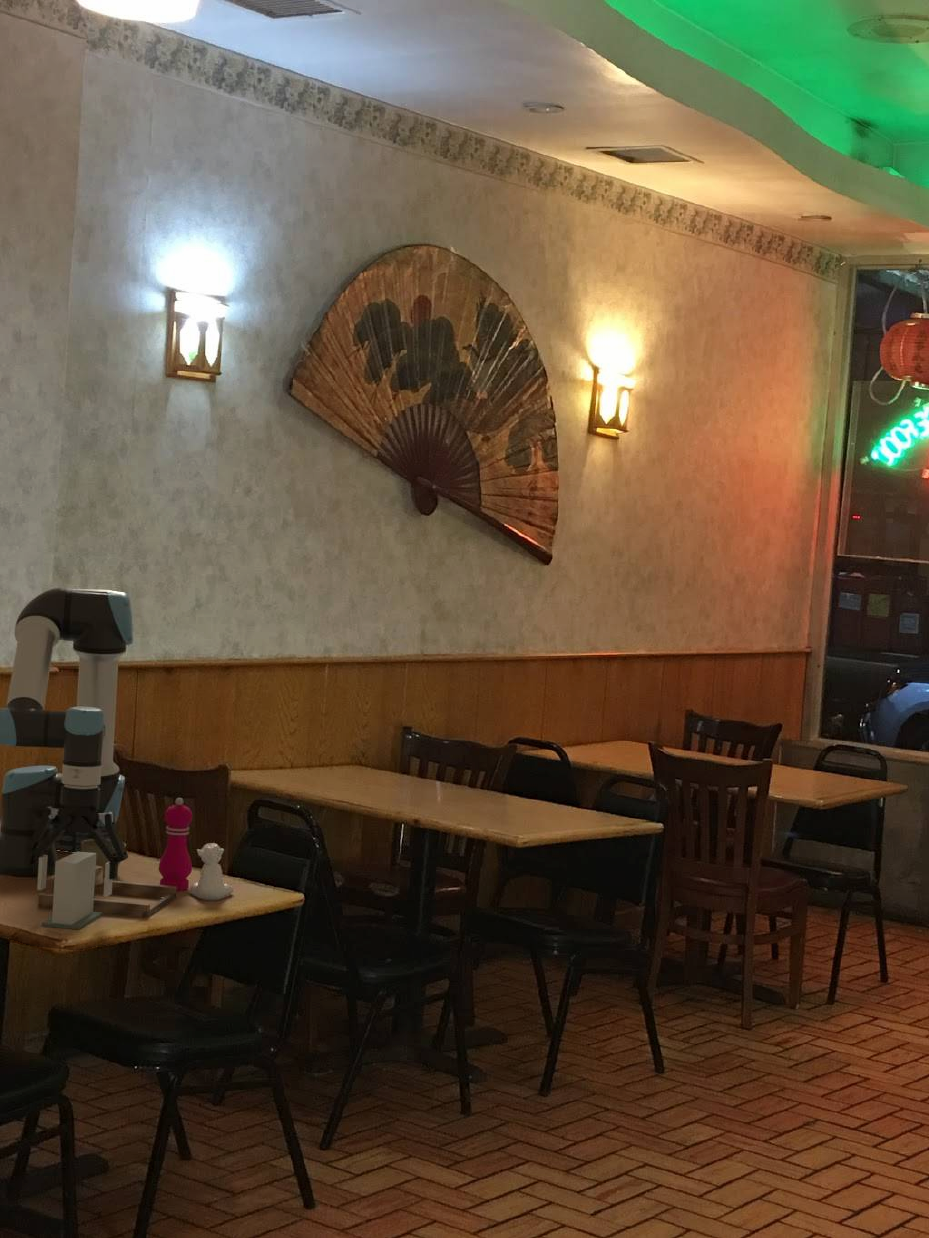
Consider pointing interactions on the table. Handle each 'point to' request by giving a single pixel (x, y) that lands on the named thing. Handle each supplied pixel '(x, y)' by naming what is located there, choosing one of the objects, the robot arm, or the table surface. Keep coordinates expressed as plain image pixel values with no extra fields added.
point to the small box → (75, 839)
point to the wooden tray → (124, 906)
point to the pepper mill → (176, 847)
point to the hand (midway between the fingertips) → (74, 892)
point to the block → (74, 887)
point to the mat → (76, 925)
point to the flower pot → (97, 852)
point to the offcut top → (98, 875)
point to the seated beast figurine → (211, 875)
